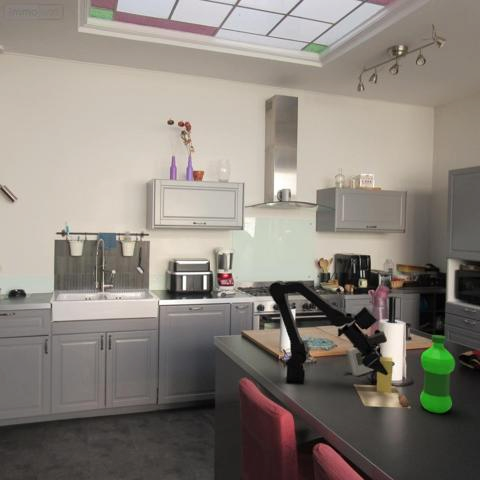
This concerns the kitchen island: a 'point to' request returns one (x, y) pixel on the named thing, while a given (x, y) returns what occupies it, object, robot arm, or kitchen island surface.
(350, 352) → the digital clock
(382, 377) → the tall mustard yellow pillar
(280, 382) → the kitchen island surface
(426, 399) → the plastic bottle
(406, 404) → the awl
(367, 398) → the panel
